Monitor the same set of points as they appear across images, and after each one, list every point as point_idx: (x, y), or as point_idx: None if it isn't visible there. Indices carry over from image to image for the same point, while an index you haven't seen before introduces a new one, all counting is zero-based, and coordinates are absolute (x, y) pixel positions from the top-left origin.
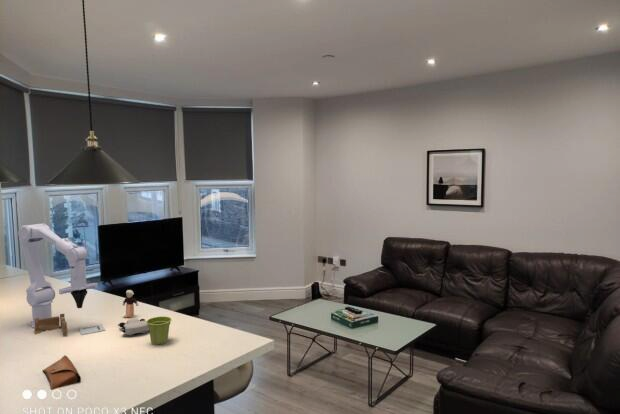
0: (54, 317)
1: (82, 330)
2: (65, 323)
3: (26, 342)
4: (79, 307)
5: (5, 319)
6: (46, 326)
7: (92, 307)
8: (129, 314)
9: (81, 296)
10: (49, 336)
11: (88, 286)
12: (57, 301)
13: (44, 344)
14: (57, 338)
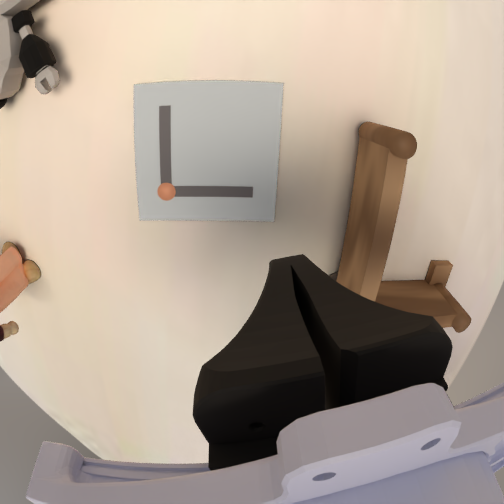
0: None
1: (263, 156)
2: (401, 131)
3: (494, 171)
4: (299, 256)
5: None
6: (413, 292)
7: (181, 441)
8: (5, 252)
9: (304, 328)
10: (421, 185)
11: (155, 501)
12: None
13: (457, 79)
14: (401, 121)
